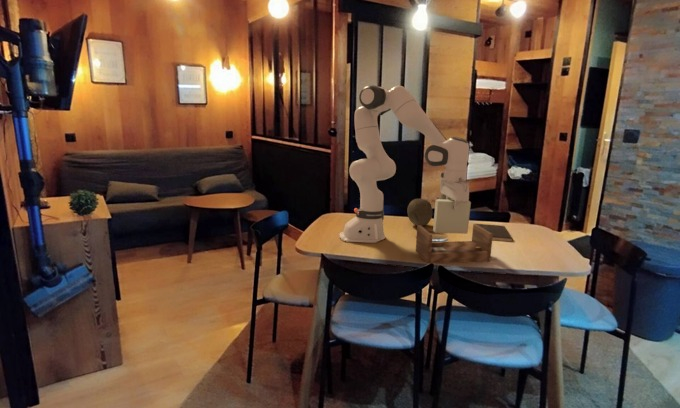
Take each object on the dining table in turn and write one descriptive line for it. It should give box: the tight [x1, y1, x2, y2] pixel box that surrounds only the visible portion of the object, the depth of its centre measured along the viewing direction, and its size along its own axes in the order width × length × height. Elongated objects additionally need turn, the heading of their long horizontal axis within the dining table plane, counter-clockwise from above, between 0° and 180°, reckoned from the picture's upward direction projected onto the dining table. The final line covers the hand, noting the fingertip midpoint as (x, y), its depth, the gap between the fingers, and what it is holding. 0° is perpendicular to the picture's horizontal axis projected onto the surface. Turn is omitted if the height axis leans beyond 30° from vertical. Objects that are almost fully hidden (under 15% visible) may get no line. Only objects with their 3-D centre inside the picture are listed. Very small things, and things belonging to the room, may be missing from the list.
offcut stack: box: [432, 240, 476, 252], centre depth 171 cm, size 20×4×8 cm, turn 97°
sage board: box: [432, 198, 472, 235], centre depth 175 cm, size 14×4×14 cm, turn 91°
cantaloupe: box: [407, 198, 434, 227], centre depth 221 cm, size 14×14×15 cm
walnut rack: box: [415, 223, 493, 264], centre depth 174 cm, size 28×15×12 cm, turn 97°
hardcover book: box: [476, 223, 514, 243], centre depth 210 cm, size 16×23×2 cm
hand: (452, 208), depth 174 cm, fingers closed on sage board, 4 cm apart
